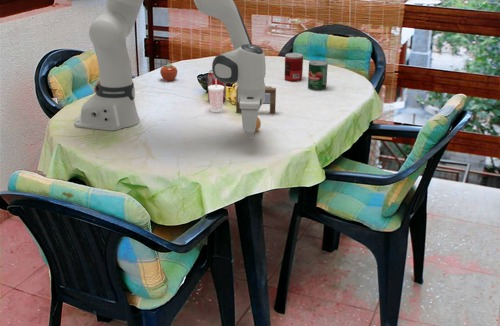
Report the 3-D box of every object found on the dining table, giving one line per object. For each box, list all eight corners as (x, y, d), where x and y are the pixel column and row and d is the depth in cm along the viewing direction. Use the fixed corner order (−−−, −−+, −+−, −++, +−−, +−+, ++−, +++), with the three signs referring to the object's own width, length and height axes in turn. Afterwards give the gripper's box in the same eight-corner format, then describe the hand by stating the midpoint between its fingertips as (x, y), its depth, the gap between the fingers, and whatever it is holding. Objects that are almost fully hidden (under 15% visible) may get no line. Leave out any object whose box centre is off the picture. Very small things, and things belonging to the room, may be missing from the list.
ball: (244, 133, 212) (244, 118, 210) (245, 127, 217) (245, 112, 215) (260, 134, 212) (260, 118, 209) (261, 128, 217) (261, 113, 214)
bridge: (275, 113, 231) (275, 90, 227) (236, 112, 232) (236, 88, 228) (275, 111, 234) (275, 87, 230) (236, 110, 234) (236, 86, 231)
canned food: (305, 78, 274) (306, 54, 270) (296, 83, 268) (297, 58, 264) (290, 76, 278) (290, 51, 273) (281, 80, 272) (281, 55, 267)
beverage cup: (209, 113, 231) (208, 76, 225) (207, 107, 237) (206, 72, 231) (225, 112, 232) (225, 75, 226) (223, 106, 238) (222, 71, 232)
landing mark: (241, 103, 242) (241, 102, 242) (244, 93, 253) (244, 93, 253) (272, 104, 241) (272, 103, 241) (273, 94, 252) (273, 94, 252)
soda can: (223, 104, 241) (223, 74, 236) (206, 103, 242) (205, 73, 237) (227, 98, 247) (227, 69, 242) (210, 97, 248) (210, 68, 243)
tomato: (164, 83, 266) (163, 65, 263) (158, 79, 272) (157, 61, 268) (180, 81, 269) (179, 63, 266) (173, 77, 275) (173, 59, 272)
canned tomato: (326, 85, 265) (327, 60, 260) (326, 91, 257) (328, 65, 253) (307, 85, 265) (309, 59, 261) (307, 90, 258) (308, 64, 254)
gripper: (244, 86, 210) (243, 124, 215) (239, 105, 191) (238, 147, 196) (262, 86, 209) (262, 125, 215) (259, 106, 191) (258, 147, 196)
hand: (250, 135), depth 205 cm, fingers closed
